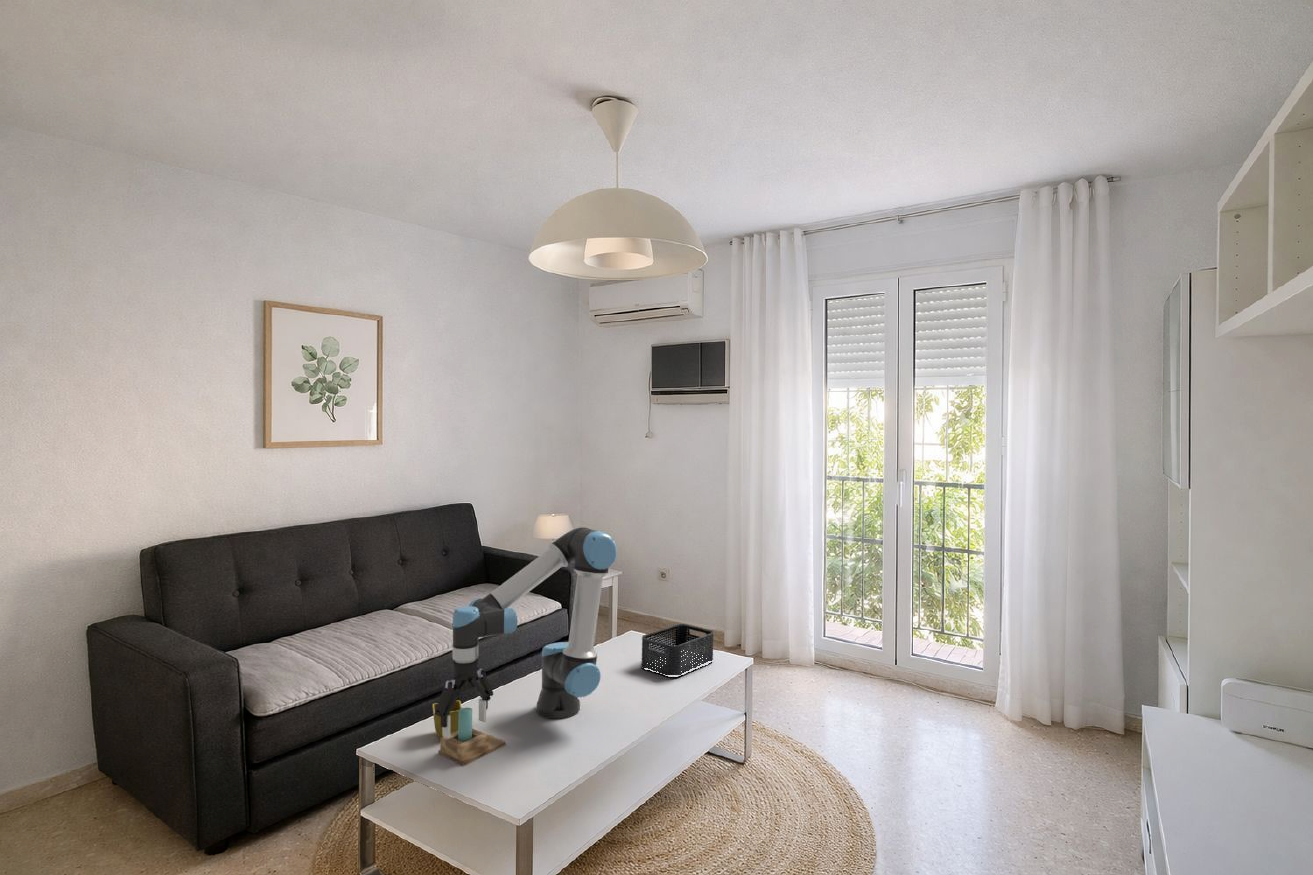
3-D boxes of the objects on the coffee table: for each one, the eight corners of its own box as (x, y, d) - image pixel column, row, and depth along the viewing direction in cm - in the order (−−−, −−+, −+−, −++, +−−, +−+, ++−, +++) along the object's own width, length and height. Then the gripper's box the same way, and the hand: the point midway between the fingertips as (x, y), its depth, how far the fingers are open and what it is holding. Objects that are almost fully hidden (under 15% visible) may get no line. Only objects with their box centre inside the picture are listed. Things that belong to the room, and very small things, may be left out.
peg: (465, 745, 211) (466, 706, 211) (474, 748, 209) (475, 709, 208) (455, 749, 208) (455, 710, 207) (463, 753, 205) (464, 714, 205)
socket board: (479, 734, 220) (480, 718, 220) (505, 744, 214) (505, 728, 213) (438, 753, 207) (438, 737, 207) (464, 765, 200) (464, 748, 200)
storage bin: (680, 651, 304) (681, 621, 303) (716, 662, 291) (716, 630, 291) (637, 669, 282) (638, 636, 282) (674, 680, 269) (675, 646, 269)
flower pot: (432, 730, 223) (432, 703, 223) (460, 726, 226) (460, 699, 226) (433, 742, 215) (433, 713, 214) (462, 738, 218) (462, 710, 218)
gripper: (488, 646, 220) (488, 711, 220) (422, 668, 199) (422, 740, 200) (505, 650, 216) (504, 717, 216) (438, 673, 195) (438, 747, 196)
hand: (464, 728), depth 208 cm, fingers open, 13 cm apart
